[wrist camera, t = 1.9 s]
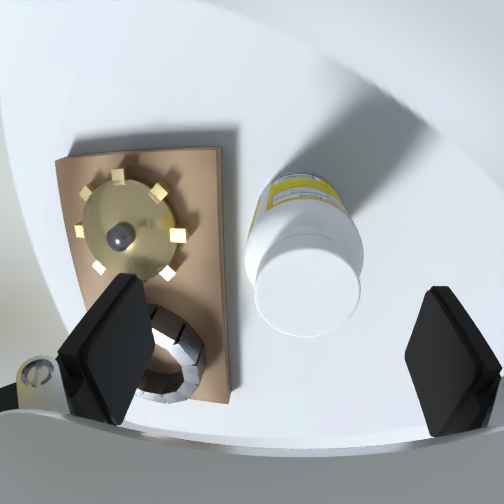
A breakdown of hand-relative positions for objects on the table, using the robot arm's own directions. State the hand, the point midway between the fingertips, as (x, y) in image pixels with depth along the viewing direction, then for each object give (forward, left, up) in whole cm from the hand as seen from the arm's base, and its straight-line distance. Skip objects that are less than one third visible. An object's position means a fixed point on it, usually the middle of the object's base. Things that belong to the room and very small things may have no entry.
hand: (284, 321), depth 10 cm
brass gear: (+10, +1, -10) cm, 14 cm away
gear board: (+10, +7, -12) cm, 17 cm away
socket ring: (+10, +12, -10) cm, 18 cm away
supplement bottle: (-1, 0, -12) cm, 12 cm away
